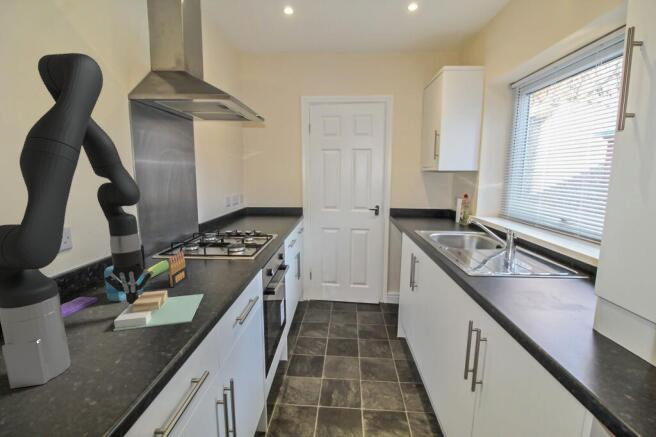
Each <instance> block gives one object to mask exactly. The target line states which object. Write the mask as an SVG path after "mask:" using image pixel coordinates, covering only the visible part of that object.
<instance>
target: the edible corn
mask: <svg viewBox="0 0 656 437" xmlns="http://www.w3.org/2000/svg"><path fill="white" fill-rule="evenodd" d="M147 270H148V271H149V272H150V271H152V272H153V275H152V276H151V277H150V279H149V280H148V281H150V280H151V279H153V278H155V277H156V276H158V275H160V274H163V273H165V272H166V271H167V270H169V260H168V261H167V260H166V259H162V260H159V261H157V262H156V263H155V264H153V265H152V266H151V267H149V268H147ZM143 279H144V277H143Z"/></svg>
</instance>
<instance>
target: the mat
mask: <svg viewBox="0 0 656 437" xmlns="http://www.w3.org/2000/svg"><path fill="white" fill-rule="evenodd" d="M203 296H204V293H201V294H190V295H189V294H188V295H180V296H179V295H178V296H172V297H171V296H168V298H167V299H166V301H165V302H164V303H163V305H162V306H161V307H160V309H158V310H157V311H156V313H155V314H154V315H153V317H152V318H151V319H150V320H149V322H148V323H147V324H146V325H137V326H129V327H120V328H115V327H114V329H113V332H119V331H127V330H135V329H144V328H150V327H151V328H152V327H160V326H169V325H177V324H184V323H192V320H193V318H194V316H195V313H196V311H197V310H198V307H199V305H200V303H201V301H202V299H203Z"/></svg>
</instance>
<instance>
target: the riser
mask: <svg viewBox="0 0 656 437" xmlns="http://www.w3.org/2000/svg"><path fill="white" fill-rule="evenodd" d="M141 295H142V294H140V295H139V294H138V297H140V296H141ZM156 311H157V310H149V311H140V312H133V307H132V304H128V306H127V307H126V308H125V309H124V310H123V311H122V312H121V313H120V314H119V315H118V316H117V317H116V318H115V319H114V321H113V322H114V324H113V325H114V329H115V328H120V327H129V326H137V325H146V324H147V323H148V322H149V320H150V319H151V318H152V317H153V315H154V314H155V313H156Z"/></svg>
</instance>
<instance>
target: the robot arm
mask: <svg viewBox="0 0 656 437" xmlns="http://www.w3.org/2000/svg"><path fill="white" fill-rule="evenodd" d="M37 63H38V64H37V70H38V74H39V76H40V79H41V81H42V83H43V84H44V86H45V88H46V90H47V91H48V93H49V95H51V98H52V99H53V101H54V102H55V103H54V104H53V106H51V108H50V109H48V111H46V112H45V113H44V114H43V115H42V116H41V117H40V118H39V119H38V120H37V121H36V122H35V123H34V124H33V125H32V127H30V129H29V131H28V133H27V134H26V136H25V139H24V143H23V146H22V149H21V152H20V155H19V168H20V172H21V173H20V174H21V175H22V178H23V181H24V185H25V186H26V191H27V202H26V204H27V205H26V207H25V211H24V214H23V217H22V220H21V222H20V224H19V223H17V224H14V223H13V224H1V225H0V324H1V325H0V326H1V330H2V335H3V340H4V344H3V345H2V346H1V349H2V355H3V360H4V364H5V368H6V373H7V379H8V385H9V388H10V389H18V388H23V387H24V388H26V387H31V386H38V385H45V384H46V383H48V381H50V380H52V379H54V378H56V377H58V376H60V375H61V374H63V373H64V372H65V371H66V370H68V368H69V367H70V366H71V356H70V350H69V345H68V340H67V333H66V328H65V323H64V317H63V316H62V310H61V305H62V304H61V299H60V294H59V293H60V292H59V288H58V282H56V280H54V279H53V278H51V277H49V276H47V275H46V274H44V273H43V272H42V271H41V270H42V269H44V268H46V267H47V266H49V265H50V264H52V263H53V262H54V261H55V260H56V258H57V256H58V255H59V253H60V250H61V247H62V242H63V235H64V226H65V219H66V211H67V206H68V201H69V196H70V193H71V188H72V183H73V179H74V176H75V172H76V169H77V168H78V163H79V159H80V154H81V152H82V151H81V150H82V149H83V150H84V153H85V155H86V157H87V159H88V161H89V164H90V167H91V169H92V170H93V173H94V174H95V175H96V176H98V177H100V178H104V179H107V180H109V181H110V182H109V181H108V182H103V183H102V184H100V186H99V187H98V188H97V192H96V195H97V196H96V198H97V202H98V204H99V206H100V209H101V211H102V212H103V214H104V215H103V216H105V219H106V221H107V224H108V230H109V231H108V232H109V246H110V252H111V262H112V266H113V267H114V268H113V270H112V274H111V275H109V276H107V277H106V278H105V277H104V281H105V280H106V281H107V282H108V283H109V284H110V285H111V286H113V287H114V288H115V289H116V290H117V291H119V292H125V293H126V302H127V303H128V305H130V304H133V303H134V302H135V301H136V300H137V299H138V298H139V297H138V296H139V293H138V290H141V289H142V288H143V287H144V288H145V286H146V285H147V283H148V282H149V281H150V280H151V279H150V277H151V276H152V275H153V272H152V271H150V272H149V271H148V269H146V267H145V265H144V263H143V262H144V260H143V254H142V243H141V238H140V236H139V229H138V221H137V218H136V215H134V214H131V213H128V212H125V210H124V208H123V207H132V206H135V205H137V203H138V202H140V199H141V192H140V188H139V186H138V184H137V183H136V181H135V180H134V179H133V177H132V175H130V173H129V172H128V170H127V169H126V168H125V166H124V165H123V162H122V159H121V157H120V154H119V151H118V149H117V146H116V145H115V142H114V141H113V140H112V138H111V137H110V136H109V134H108V133H107V132H106V131H105V130H104V129H103V128H102V127H101V126H100V125H99V124H98V123H97V122H96V121H95V120H94V119H93V118H92V113H93V111H94V109H95V107H96V105H97V101H98V100H99V98H100V95H101V93H102V89H103V85H104V76H103V70H102V68H101V67H100V64H98V62H97V61H96V60H95V59H94V58H93V57H91V56H89V55H88V54H85V53H78V52H68V53H67V52H66V53H65V52H64V53H54V54H45V55H43V56H42V57H41V58H39V60H38V62H37ZM40 269H41V270H40ZM142 273H143V277H144V279H143V280H142V282H141V283H140V284H139V285H138V282H139V278H140V276H141V275H142ZM117 278H118V279H119V280H120V281H121V282H122V283H121V282H120V281H119V280H118V279H117ZM149 279H150V280H149Z"/></svg>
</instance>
